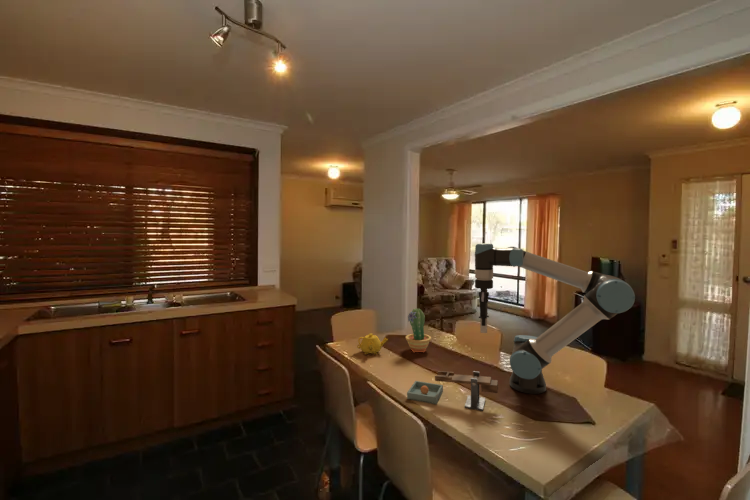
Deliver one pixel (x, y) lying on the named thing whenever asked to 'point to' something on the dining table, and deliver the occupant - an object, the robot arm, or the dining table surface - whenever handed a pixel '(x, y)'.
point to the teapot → (371, 344)
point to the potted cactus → (417, 332)
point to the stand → (475, 395)
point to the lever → (469, 380)
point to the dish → (430, 397)
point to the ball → (424, 389)
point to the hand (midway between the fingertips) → (483, 332)
